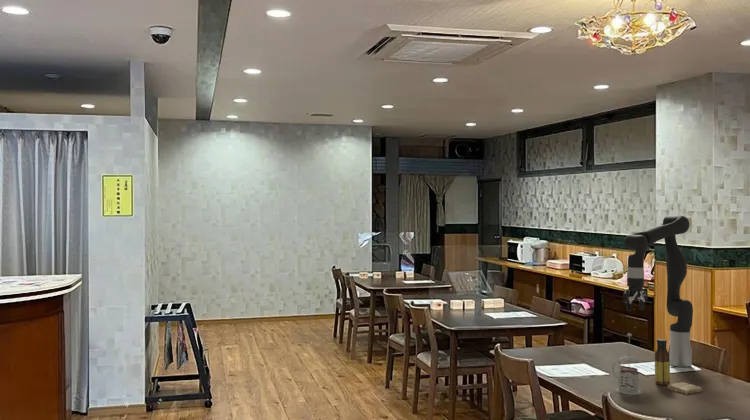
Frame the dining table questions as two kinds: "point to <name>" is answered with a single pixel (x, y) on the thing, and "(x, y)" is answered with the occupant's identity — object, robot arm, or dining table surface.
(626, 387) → the french press
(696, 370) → the dining table surface
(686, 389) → the tile
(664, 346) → the sauce bottle
